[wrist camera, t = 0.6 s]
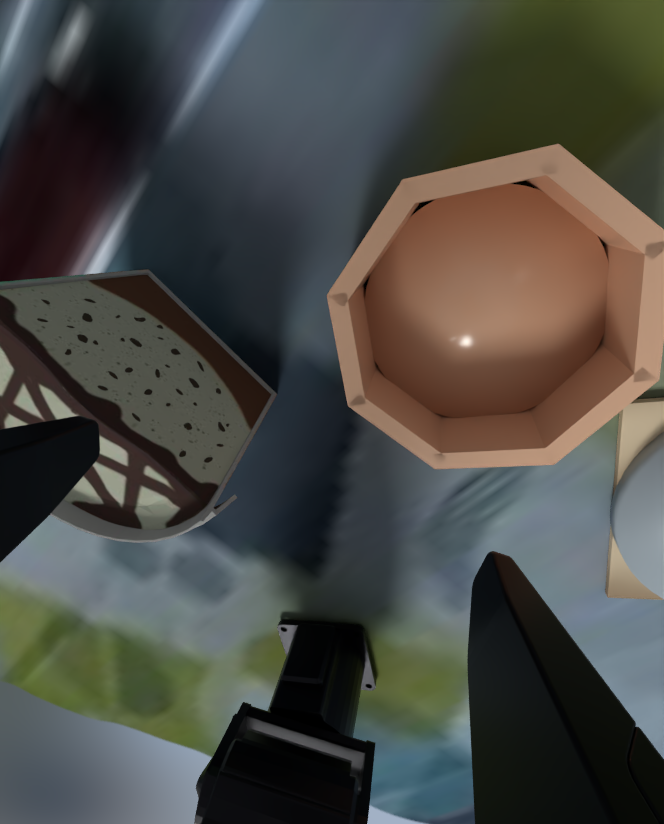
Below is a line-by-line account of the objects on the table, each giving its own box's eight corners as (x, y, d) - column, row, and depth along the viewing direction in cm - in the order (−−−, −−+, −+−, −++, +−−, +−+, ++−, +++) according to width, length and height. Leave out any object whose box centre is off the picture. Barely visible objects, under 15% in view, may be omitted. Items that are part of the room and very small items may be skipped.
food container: (77, 327, 25) (-118, 393, 16) (126, 247, 22) (-79, 276, 14) (234, 469, 27) (133, 597, 18) (296, 412, 24) (213, 531, 16)
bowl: (614, 416, 20) (649, 460, 17) (372, 432, 24) (360, 471, 20) (635, 132, 16) (689, 114, 12) (333, 201, 19) (308, 200, 16)
